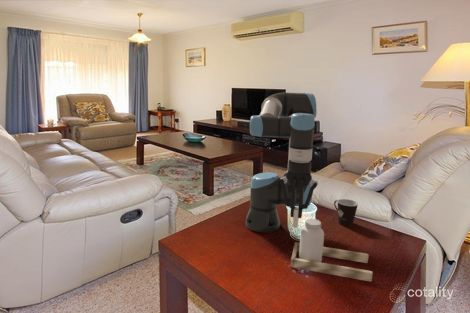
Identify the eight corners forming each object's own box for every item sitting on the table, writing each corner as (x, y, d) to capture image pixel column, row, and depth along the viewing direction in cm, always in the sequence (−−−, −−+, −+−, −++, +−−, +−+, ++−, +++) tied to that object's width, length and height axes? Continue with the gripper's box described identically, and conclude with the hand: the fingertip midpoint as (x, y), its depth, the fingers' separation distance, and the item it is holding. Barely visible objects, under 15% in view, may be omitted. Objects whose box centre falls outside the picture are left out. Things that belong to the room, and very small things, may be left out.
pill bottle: (308, 269, 105) (312, 228, 102) (293, 257, 112) (296, 219, 109) (326, 263, 109) (330, 224, 105) (311, 253, 116) (314, 215, 112)
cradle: (290, 267, 106) (291, 259, 105) (294, 249, 118) (295, 242, 117) (371, 281, 99) (372, 273, 98) (367, 261, 111) (368, 253, 110)
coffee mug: (358, 227, 137) (360, 206, 135) (338, 227, 137) (341, 205, 135) (349, 216, 149) (351, 197, 147) (331, 216, 149) (333, 196, 147)
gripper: (278, 160, 102) (275, 227, 107) (319, 164, 98) (313, 233, 103) (282, 156, 109) (278, 219, 114) (320, 159, 105) (315, 224, 110)
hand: (295, 225), depth 109 cm, fingers closed
